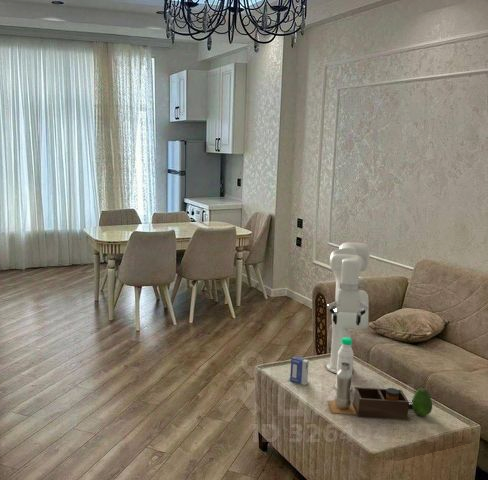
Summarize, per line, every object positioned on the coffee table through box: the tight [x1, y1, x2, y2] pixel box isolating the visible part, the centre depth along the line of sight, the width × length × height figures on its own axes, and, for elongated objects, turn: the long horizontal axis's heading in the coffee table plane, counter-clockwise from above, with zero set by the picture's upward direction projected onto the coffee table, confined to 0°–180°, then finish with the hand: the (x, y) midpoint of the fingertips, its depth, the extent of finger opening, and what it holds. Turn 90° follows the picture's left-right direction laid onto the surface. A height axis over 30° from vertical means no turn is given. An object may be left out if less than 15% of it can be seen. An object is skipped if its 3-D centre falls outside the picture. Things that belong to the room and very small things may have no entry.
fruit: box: [411, 387, 433, 417], centre depth 228 cm, size 8×8×12 cm
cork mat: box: [328, 400, 357, 415], centre depth 234 cm, size 10×10×1 cm
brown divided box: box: [352, 386, 410, 420], centre depth 231 cm, size 11×20×8 cm, turn 84°
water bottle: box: [334, 337, 355, 391], centre depth 249 cm, size 7×7×25 cm
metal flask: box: [334, 362, 353, 409], centre depth 232 cm, size 6×7×20 cm
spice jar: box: [385, 387, 400, 400], centre depth 230 cm, size 5×5×10 cm
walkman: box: [289, 355, 310, 386], centre depth 257 cm, size 8×3×12 cm, turn 54°
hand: (346, 323), depth 239 cm, fingers open, 9 cm apart
